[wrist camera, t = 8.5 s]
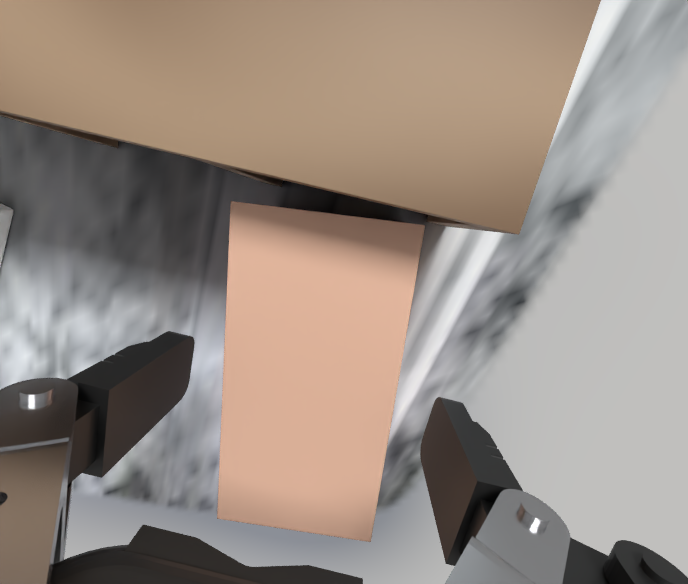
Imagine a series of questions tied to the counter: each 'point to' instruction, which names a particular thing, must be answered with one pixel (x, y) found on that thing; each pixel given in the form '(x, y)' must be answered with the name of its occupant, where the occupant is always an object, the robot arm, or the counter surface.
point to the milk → (4, 227)
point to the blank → (311, 365)
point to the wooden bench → (313, 90)
